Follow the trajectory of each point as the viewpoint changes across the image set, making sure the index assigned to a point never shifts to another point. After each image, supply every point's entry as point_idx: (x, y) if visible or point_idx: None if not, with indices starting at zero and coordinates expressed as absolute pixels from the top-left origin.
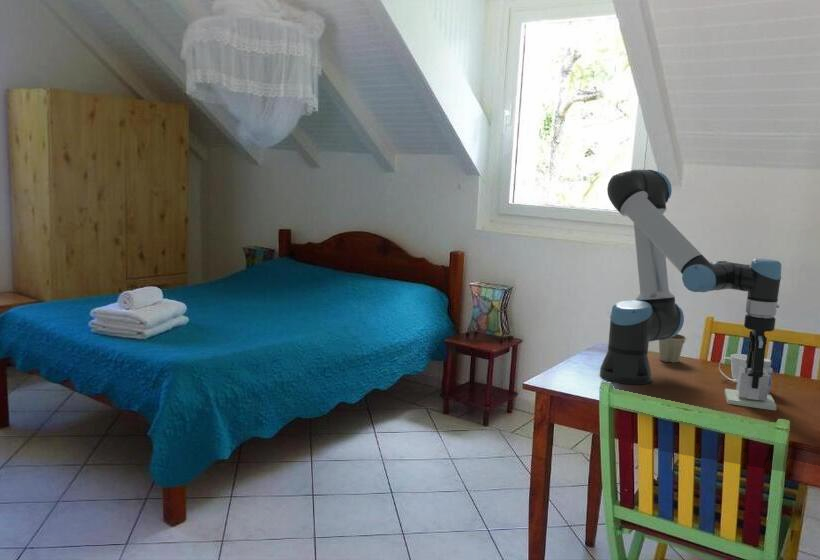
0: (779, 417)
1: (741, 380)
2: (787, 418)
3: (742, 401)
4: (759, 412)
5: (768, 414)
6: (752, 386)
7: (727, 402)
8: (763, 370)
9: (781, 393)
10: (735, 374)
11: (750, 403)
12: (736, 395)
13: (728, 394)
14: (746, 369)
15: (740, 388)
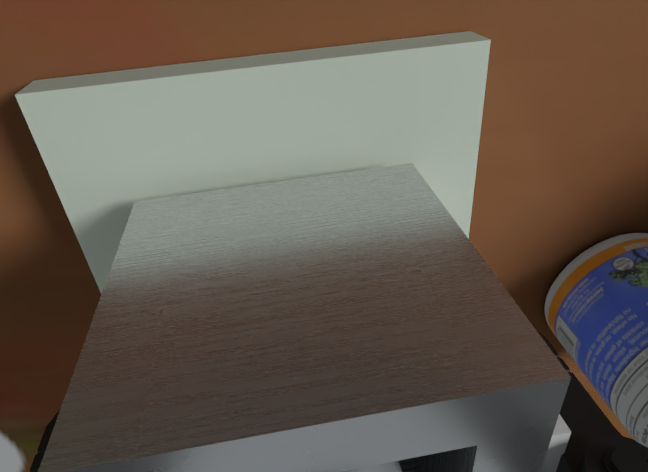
0: (8, 425)
1: (88, 353)
2: (33, 454)
3: (77, 230)
4: (8, 328)
5: (15, 375)
6: (49, 429)
7: (78, 75)
8: None
9: (590, 383)
10: None
11: (102, 284)
12: (266, 167)
13: (248, 87)
14: (463, 450)
15: (113, 269)
